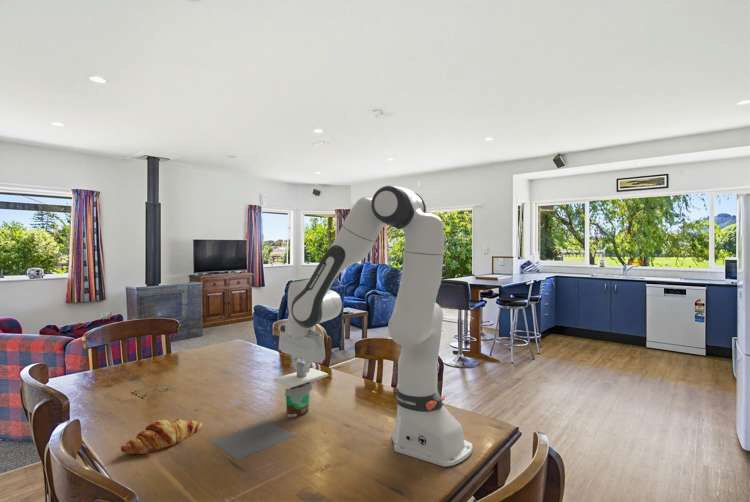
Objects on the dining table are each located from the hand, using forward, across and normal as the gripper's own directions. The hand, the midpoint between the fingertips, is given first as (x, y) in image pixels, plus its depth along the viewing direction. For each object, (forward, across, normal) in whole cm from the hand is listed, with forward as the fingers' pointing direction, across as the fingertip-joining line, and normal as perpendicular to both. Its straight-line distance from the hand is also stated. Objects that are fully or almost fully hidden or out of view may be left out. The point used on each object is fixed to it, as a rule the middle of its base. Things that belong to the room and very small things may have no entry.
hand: (301, 370), depth 130 cm
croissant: (+14, +12, +38) cm, 42 cm away
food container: (+14, 0, 0) cm, 14 cm away
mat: (+14, -5, +20) cm, 25 cm away
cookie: (+15, +57, +26) cm, 64 cm away
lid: (+2, 0, 0) cm, 2 cm away
